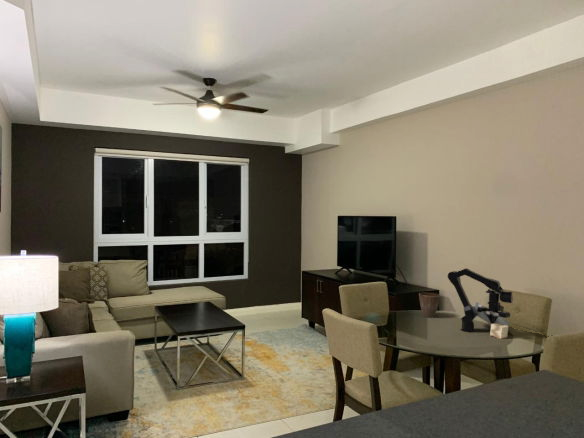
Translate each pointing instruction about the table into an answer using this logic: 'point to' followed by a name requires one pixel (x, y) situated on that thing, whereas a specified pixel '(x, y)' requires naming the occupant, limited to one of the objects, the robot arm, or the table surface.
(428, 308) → the plant pot
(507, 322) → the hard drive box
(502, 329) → the birch block
